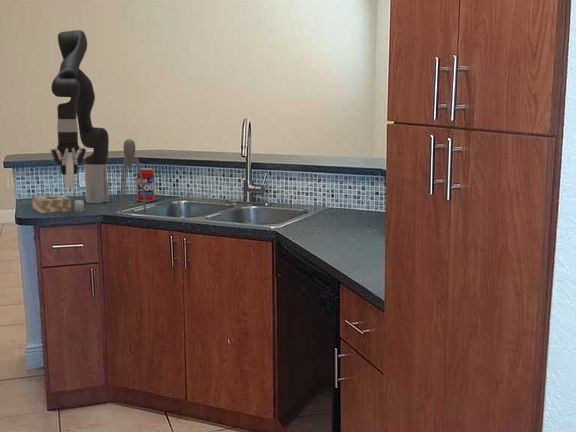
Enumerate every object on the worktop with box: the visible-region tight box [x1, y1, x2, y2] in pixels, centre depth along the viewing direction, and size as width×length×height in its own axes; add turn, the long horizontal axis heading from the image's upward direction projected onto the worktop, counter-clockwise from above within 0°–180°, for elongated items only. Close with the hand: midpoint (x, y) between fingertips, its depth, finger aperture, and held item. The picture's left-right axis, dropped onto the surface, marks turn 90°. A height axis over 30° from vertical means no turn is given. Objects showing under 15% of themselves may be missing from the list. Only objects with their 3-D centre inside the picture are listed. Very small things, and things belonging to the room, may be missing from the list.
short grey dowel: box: [74, 199, 85, 213], centre depth 294 cm, size 4×4×4 cm
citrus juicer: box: [119, 138, 147, 213], centre depth 295 cm, size 11×10×30 cm
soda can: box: [136, 167, 155, 203], centre depth 326 cm, size 8×8×15 cm
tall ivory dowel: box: [64, 152, 75, 189], centre depth 282 cm, size 4×4×14 cm
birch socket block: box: [31, 195, 72, 214], centre depth 296 cm, size 12×12×5 cm
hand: (69, 174), depth 283 cm, fingers closed on tall ivory dowel, 3 cm apart
